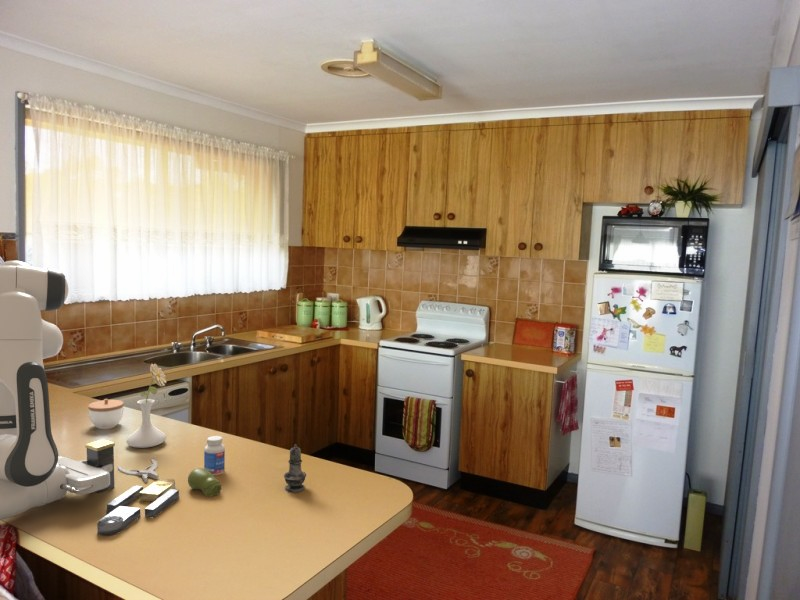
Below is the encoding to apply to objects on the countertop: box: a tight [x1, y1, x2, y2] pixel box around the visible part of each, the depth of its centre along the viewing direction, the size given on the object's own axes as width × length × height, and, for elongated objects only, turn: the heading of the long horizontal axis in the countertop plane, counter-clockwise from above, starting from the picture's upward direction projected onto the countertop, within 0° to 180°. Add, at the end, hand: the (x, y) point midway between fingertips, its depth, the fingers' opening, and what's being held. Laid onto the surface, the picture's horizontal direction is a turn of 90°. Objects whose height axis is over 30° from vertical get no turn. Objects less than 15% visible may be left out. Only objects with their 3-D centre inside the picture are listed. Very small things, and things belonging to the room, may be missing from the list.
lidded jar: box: [87, 398, 125, 430], centre depth 198 cm, size 11×11×9 cm
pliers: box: [117, 458, 159, 483], centre depth 161 cm, size 10×2×15 cm
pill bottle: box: [203, 435, 226, 477], centre depth 162 cm, size 6×5×10 cm
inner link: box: [138, 477, 176, 503], centre depth 148 cm, size 10×5×2 cm, turn 171°
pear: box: [187, 467, 222, 498], centre depth 150 cm, size 6×5×10 cm
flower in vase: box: [126, 363, 167, 449], centre depth 181 cm, size 13×11×25 cm
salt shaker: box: [283, 443, 307, 494], centre depth 153 cm, size 6×6×12 cm
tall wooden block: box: [84, 438, 116, 494], centre depth 150 cm, size 5×5×12 cm
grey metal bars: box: [96, 485, 180, 537], centre depth 137 cm, size 21×12×2 cm, turn 171°
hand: (103, 464), depth 150 cm, fingers closed on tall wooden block, 4 cm apart
